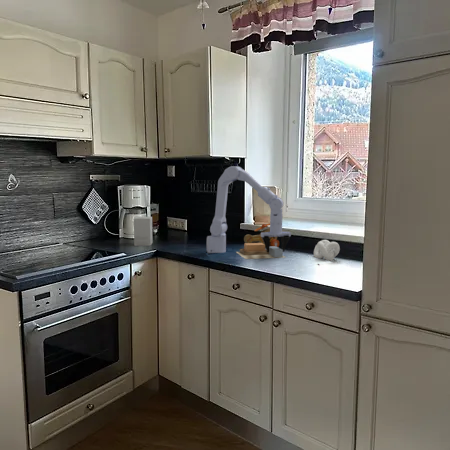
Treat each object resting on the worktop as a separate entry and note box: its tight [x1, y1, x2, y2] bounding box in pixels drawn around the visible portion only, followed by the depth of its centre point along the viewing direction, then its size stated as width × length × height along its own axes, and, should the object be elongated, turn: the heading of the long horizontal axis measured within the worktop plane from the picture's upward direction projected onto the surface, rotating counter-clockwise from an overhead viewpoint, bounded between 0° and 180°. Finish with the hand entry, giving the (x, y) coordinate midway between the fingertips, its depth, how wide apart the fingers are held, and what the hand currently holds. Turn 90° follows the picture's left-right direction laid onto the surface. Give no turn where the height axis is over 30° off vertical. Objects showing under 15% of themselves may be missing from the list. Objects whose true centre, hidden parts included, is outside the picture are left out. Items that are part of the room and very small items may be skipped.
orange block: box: [243, 242, 266, 252], centre depth 207 cm, size 9×5×4 cm, turn 104°
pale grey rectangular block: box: [269, 246, 284, 257], centre depth 203 cm, size 4×9×4 cm, turn 14°
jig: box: [235, 248, 287, 260], centre depth 204 cm, size 20×17×2 cm
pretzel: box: [313, 239, 341, 262], centre depth 199 cm, size 11×12×9 cm
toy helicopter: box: [243, 222, 280, 249], centre depth 224 cm, size 8×21×14 cm, turn 122°
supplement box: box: [133, 216, 153, 247], centre depth 231 cm, size 9×9×15 cm
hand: (275, 251), depth 203 cm, fingers open, 7 cm apart
